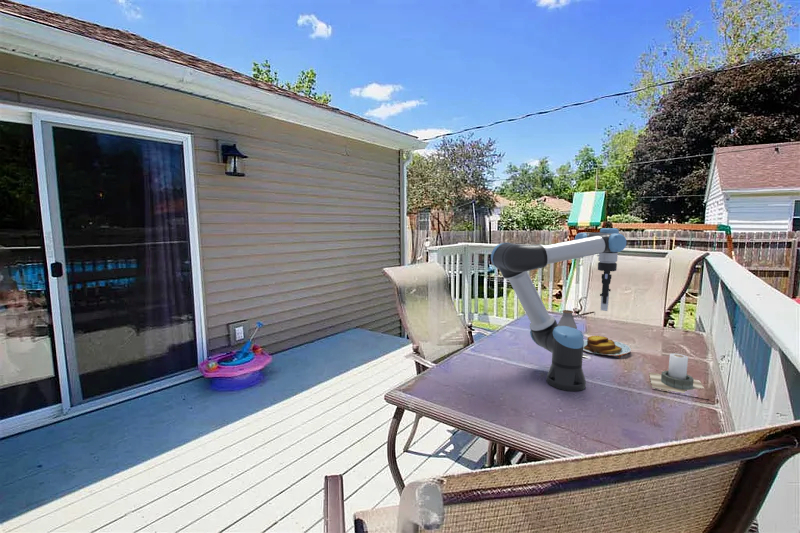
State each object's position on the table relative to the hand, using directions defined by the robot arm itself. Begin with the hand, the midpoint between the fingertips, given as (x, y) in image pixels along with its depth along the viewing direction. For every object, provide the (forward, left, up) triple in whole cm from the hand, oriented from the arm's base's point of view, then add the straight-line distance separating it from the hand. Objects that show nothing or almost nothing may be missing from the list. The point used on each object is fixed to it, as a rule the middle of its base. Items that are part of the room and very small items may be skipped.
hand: (604, 307), depth 169 cm
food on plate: (+27, 0, -29) cm, 40 cm away
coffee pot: (+55, +16, -29) cm, 64 cm away
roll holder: (-7, -28, -29) cm, 41 cm away
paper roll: (-7, -28, -28) cm, 40 cm away
